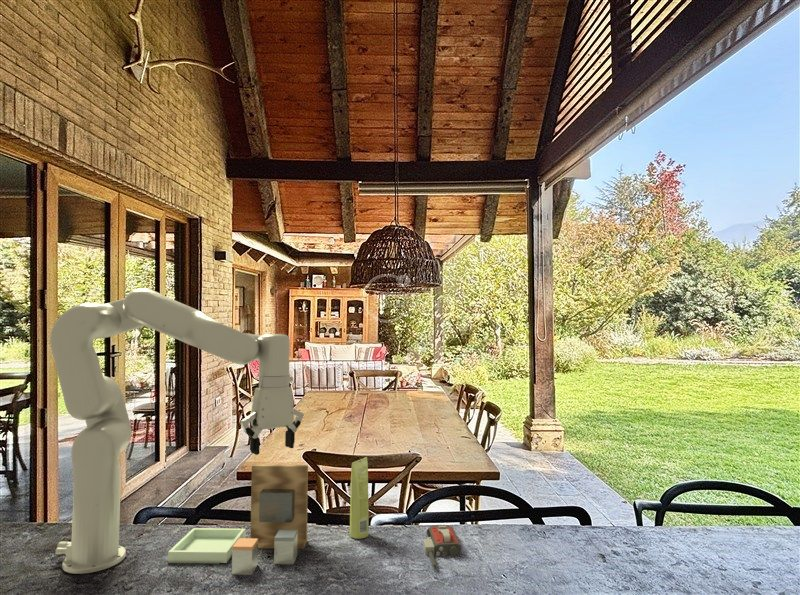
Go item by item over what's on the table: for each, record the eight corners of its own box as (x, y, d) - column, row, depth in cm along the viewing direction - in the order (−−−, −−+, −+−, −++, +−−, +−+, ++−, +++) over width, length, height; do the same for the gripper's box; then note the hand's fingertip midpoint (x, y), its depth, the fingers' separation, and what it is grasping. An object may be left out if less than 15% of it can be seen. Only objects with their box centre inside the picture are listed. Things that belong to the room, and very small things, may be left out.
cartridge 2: (274, 564, 116) (274, 537, 116) (278, 555, 120) (279, 529, 120) (293, 564, 116) (293, 537, 116) (297, 555, 120) (297, 529, 120)
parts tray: (167, 562, 116) (168, 551, 116) (193, 538, 130) (193, 528, 130) (226, 563, 116) (226, 552, 116) (245, 538, 129) (245, 528, 129)
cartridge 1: (231, 574, 111) (232, 546, 111) (238, 565, 115) (239, 538, 116) (251, 574, 111) (252, 546, 111) (257, 565, 115) (258, 538, 115)
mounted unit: (246, 549, 123) (248, 469, 124) (252, 540, 128) (254, 463, 129) (303, 549, 123) (304, 469, 124) (307, 541, 128) (308, 464, 129)
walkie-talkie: (419, 536, 132) (430, 573, 112) (419, 518, 132) (430, 553, 112) (452, 535, 133) (468, 571, 113) (452, 517, 133) (468, 551, 113)
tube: (348, 531, 134) (348, 457, 135) (366, 530, 135) (367, 456, 136) (351, 540, 128) (351, 462, 129) (370, 538, 129) (371, 461, 131)
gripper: (295, 379, 137) (294, 442, 136) (235, 383, 125) (233, 453, 124) (310, 381, 132) (309, 447, 131) (249, 386, 120) (247, 459, 119)
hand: (272, 450), depth 128 cm, fingers open, 9 cm apart
